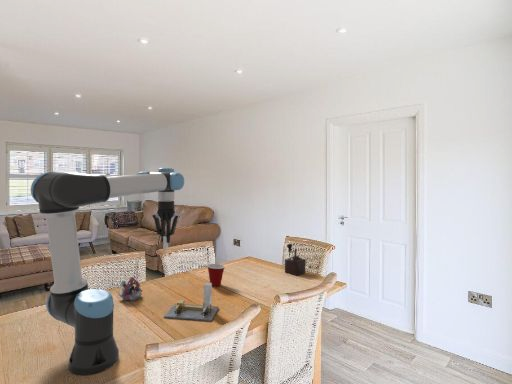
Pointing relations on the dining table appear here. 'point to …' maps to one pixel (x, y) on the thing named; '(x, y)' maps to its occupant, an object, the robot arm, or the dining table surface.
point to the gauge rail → (188, 306)
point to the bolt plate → (191, 314)
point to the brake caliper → (130, 290)
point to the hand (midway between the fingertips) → (165, 249)
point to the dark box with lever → (294, 264)
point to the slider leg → (207, 297)
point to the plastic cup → (215, 274)
